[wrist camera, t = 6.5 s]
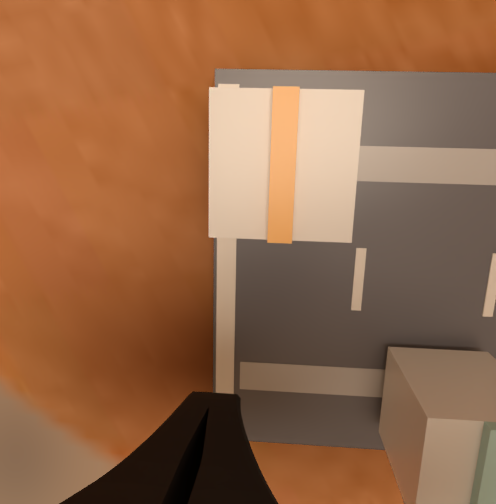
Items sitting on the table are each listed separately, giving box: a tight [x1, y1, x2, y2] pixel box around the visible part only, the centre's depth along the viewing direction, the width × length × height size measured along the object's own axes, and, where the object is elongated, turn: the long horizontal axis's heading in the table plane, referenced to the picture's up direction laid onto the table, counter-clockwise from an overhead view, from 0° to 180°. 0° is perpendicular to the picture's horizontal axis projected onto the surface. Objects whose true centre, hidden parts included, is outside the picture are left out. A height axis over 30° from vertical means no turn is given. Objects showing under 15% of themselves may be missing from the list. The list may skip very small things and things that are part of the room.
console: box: [213, 69, 496, 450], centre depth 14 cm, size 17×12×2 cm
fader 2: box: [379, 347, 496, 504], centre depth 12 cm, size 3×3×4 cm
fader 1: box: [209, 86, 365, 244], centre depth 10 cm, size 3×3×4 cm
